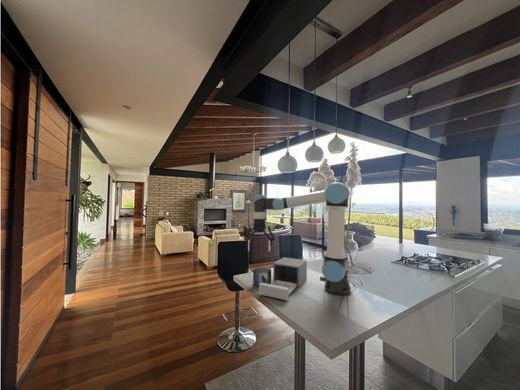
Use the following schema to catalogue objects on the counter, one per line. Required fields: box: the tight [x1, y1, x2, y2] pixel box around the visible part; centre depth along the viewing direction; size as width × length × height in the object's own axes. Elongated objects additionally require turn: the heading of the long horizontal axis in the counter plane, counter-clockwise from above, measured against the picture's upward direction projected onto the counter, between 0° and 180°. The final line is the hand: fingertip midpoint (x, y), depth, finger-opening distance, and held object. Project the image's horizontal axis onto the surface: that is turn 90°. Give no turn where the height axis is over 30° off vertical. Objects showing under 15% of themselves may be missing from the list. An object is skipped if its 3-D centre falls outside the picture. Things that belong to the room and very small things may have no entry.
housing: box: [272, 257, 308, 290], centre depth 148 cm, size 17×18×14 cm
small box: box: [252, 266, 272, 288], centre depth 141 cm, size 11×6×10 cm, turn 68°
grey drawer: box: [258, 280, 297, 301], centre depth 130 cm, size 17×21×6 cm
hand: (259, 250), depth 144 cm, fingers open, 13 cm apart
